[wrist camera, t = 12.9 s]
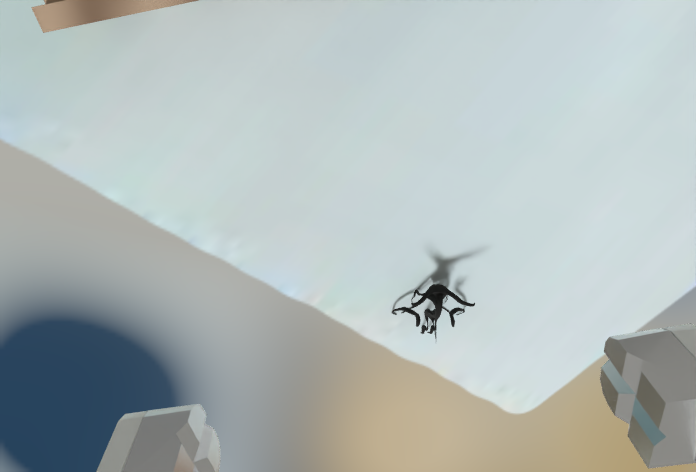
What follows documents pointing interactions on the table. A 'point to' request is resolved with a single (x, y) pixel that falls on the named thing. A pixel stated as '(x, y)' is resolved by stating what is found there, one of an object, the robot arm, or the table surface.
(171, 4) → the track
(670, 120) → the table surface
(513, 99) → the table surface
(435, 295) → the creature
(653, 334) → the robot arm
